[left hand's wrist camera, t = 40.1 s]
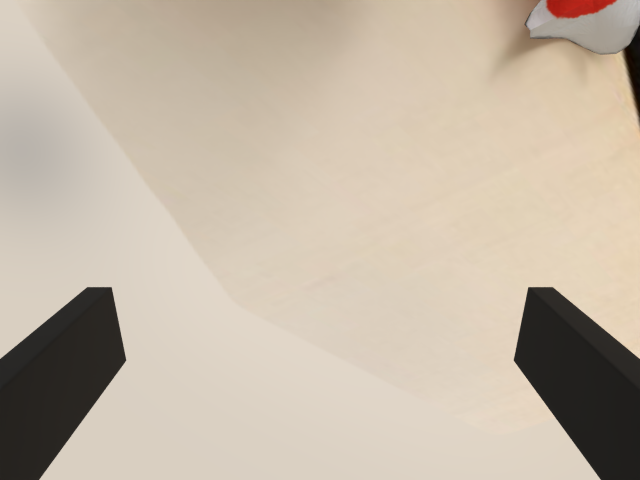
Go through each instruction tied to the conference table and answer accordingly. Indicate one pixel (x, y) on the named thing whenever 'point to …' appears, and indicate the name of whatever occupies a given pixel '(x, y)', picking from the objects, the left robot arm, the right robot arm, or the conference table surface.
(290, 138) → the conference table surface
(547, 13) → the fish
